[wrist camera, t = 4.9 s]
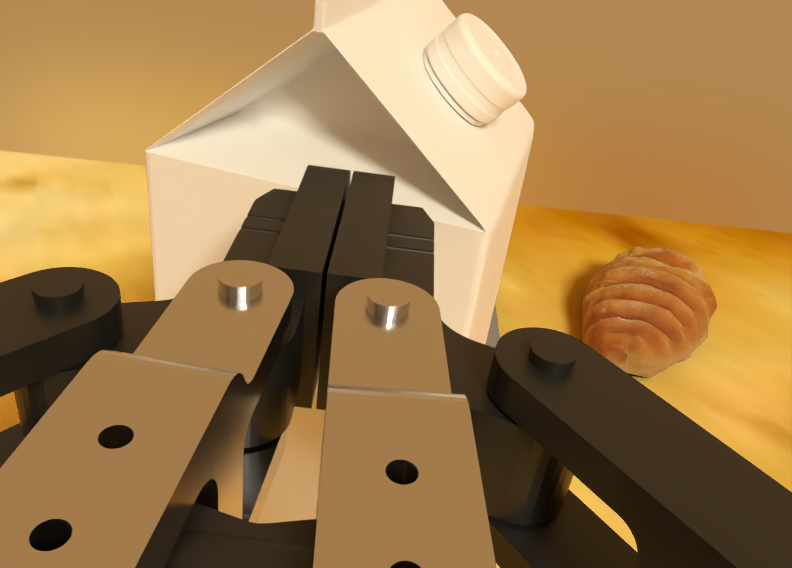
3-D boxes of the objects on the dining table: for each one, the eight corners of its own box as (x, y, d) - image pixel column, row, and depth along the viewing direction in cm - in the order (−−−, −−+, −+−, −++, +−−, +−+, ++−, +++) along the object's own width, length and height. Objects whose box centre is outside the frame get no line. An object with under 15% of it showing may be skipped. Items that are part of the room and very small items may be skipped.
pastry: (683, 409, 34) (710, 344, 32) (547, 357, 36) (565, 293, 34) (709, 320, 41) (733, 262, 39) (595, 281, 44) (611, 225, 42)
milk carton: (172, 612, 22) (126, -75, 12) (271, 455, 28) (293, -90, 18) (393, 693, 21) (543, -1, 11) (447, 511, 27) (575, -43, 17)
